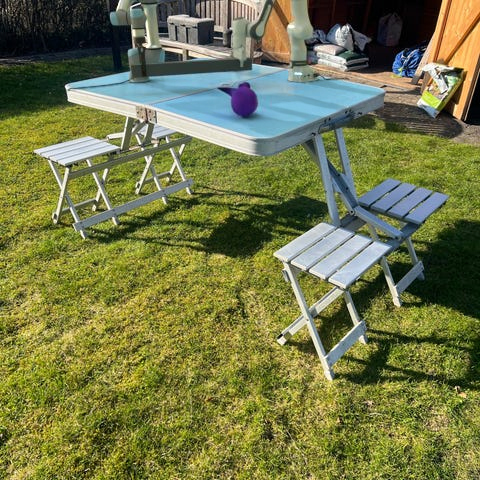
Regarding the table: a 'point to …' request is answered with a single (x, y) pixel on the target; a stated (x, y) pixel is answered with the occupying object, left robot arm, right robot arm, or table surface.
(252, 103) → the toy
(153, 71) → the bar
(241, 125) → the table surface
